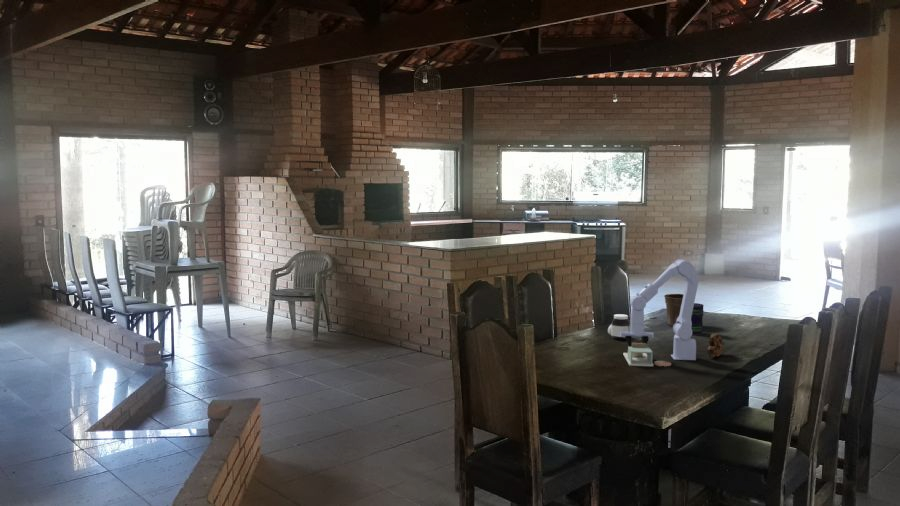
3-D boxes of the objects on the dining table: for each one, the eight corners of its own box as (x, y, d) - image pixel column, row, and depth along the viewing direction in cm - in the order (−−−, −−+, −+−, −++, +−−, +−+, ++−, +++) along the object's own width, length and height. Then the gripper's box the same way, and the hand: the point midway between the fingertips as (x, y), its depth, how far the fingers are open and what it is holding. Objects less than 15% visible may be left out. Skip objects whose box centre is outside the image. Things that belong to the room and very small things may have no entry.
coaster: (669, 362, 318) (669, 360, 318) (672, 366, 311) (672, 365, 311) (652, 362, 319) (653, 360, 319) (655, 366, 312) (655, 364, 312)
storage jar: (705, 335, 374) (706, 306, 372) (685, 335, 374) (687, 306, 372) (699, 331, 384) (700, 303, 382) (680, 330, 384) (681, 302, 382)
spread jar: (623, 341, 360) (624, 317, 359) (602, 338, 367) (602, 315, 365) (633, 336, 369) (633, 314, 368) (612, 334, 376) (613, 311, 375)
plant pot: (662, 327, 394) (663, 297, 392) (663, 321, 409) (664, 293, 407) (694, 329, 389) (695, 299, 387) (693, 323, 404) (695, 294, 403)
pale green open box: (648, 358, 321) (649, 343, 320) (652, 363, 312) (652, 347, 311) (627, 357, 322) (628, 342, 321) (630, 363, 313) (631, 347, 312)
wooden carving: (717, 361, 321) (718, 338, 320) (706, 359, 324) (707, 337, 323) (724, 353, 335) (725, 331, 334) (714, 352, 338) (715, 330, 337)
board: (645, 355, 332) (645, 353, 331) (653, 366, 312) (653, 364, 312) (623, 354, 333) (623, 352, 332) (629, 365, 313) (629, 363, 313)
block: (640, 354, 329) (640, 343, 329) (642, 357, 325) (642, 346, 324) (630, 354, 330) (630, 343, 329) (631, 357, 325) (632, 346, 325)
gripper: (652, 321, 329) (651, 351, 330) (619, 320, 330) (618, 350, 332) (655, 324, 322) (654, 354, 323) (621, 323, 323) (620, 354, 325)
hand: (636, 352), depth 327 cm, fingers closed on block, 4 cm apart
